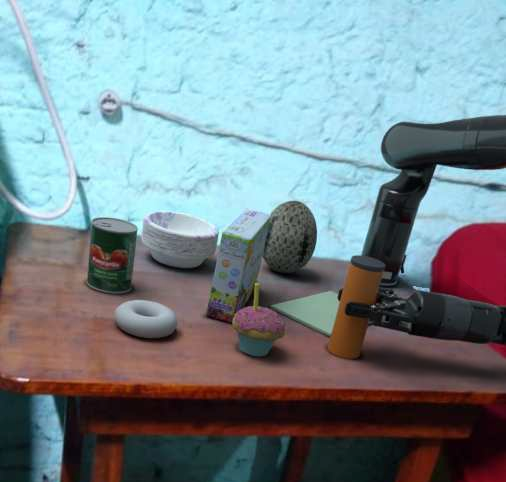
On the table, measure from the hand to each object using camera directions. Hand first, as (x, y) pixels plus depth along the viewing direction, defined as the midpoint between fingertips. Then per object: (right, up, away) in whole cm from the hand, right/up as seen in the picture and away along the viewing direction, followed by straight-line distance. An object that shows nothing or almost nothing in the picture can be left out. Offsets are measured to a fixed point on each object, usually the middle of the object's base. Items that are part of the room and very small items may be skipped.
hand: (342, 301), depth 122 cm
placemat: (0, +2, +20) cm, 20 cm away
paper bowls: (-31, +14, +29) cm, 45 cm away
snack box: (-19, +3, +15) cm, 24 cm away
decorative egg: (-9, +14, +37) cm, 40 cm away
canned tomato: (-41, +5, +10) cm, 42 cm away
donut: (-32, -5, -3) cm, 33 cm away
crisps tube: (+1, -8, +5) cm, 9 cm away
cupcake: (-15, -8, -2) cm, 17 cm away
